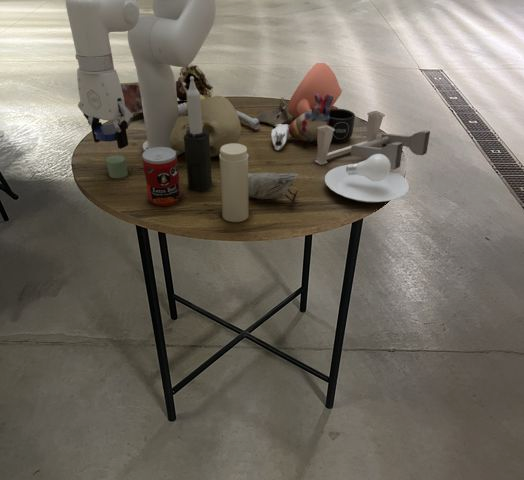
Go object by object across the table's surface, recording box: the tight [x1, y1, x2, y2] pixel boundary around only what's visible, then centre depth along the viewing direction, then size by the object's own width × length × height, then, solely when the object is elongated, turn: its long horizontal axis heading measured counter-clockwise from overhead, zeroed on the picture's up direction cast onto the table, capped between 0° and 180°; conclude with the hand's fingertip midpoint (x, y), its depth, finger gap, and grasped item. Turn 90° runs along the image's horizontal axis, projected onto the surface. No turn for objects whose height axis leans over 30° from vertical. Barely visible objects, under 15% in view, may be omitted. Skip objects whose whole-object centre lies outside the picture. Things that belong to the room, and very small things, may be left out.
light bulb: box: [178, 95, 205, 117], centre depth 154 cm, size 6×6×10 cm
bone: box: [235, 109, 261, 131], centre depth 151 cm, size 18×5×4 cm
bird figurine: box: [270, 123, 290, 151], centre depth 140 cm, size 5×7×10 cm
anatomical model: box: [288, 94, 333, 143], centre depth 137 cm, size 10×9×15 cm
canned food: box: [141, 147, 182, 207], centre depth 112 cm, size 8×8×11 cm
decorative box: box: [120, 81, 143, 114], centre depth 154 cm, size 13×20×10 cm
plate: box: [324, 164, 410, 204], centre depth 120 cm, size 21×21×2 cm
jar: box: [218, 143, 250, 223], centre depth 106 cm, size 6×6×15 cm
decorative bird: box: [249, 172, 300, 205], centre depth 114 cm, size 5×16×8 cm, turn 77°
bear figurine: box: [175, 64, 214, 103], centre depth 164 cm, size 14×15×12 cm
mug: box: [328, 108, 356, 143], centre depth 143 cm, size 12×9×7 cm
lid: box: [94, 123, 117, 143], centre depth 117 cm, size 7×7×2 cm
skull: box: [170, 95, 242, 158], centre depth 132 cm, size 14×17×20 cm
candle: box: [184, 76, 213, 193], centre depth 112 cm, size 5×5×25 cm
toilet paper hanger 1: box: [314, 110, 386, 166], centre depth 133 cm, size 23×9×4 cm
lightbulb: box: [346, 154, 392, 181], centre depth 118 cm, size 6×6×11 cm
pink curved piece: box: [287, 62, 343, 119], centre depth 149 cm, size 25×17×13 cm
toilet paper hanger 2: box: [350, 130, 431, 171], centre depth 132 cm, size 22×13×6 cm, turn 143°
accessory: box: [287, 136, 318, 147], centre depth 143 cm, size 9×9×1 cm
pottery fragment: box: [253, 96, 289, 128], centre depth 155 cm, size 18×11×5 cm, turn 2°
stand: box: [105, 155, 129, 179], centre depth 124 cm, size 5×5×4 cm
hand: (111, 143), depth 119 cm, fingers closed on lid, 6 cm apart
